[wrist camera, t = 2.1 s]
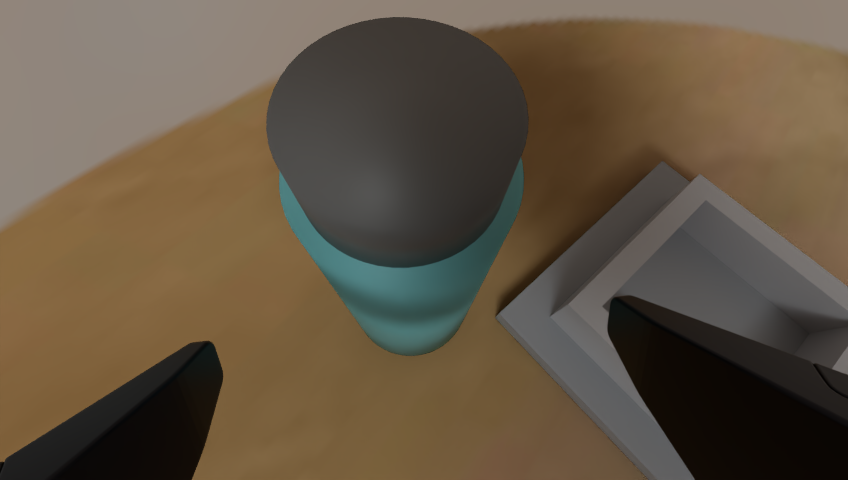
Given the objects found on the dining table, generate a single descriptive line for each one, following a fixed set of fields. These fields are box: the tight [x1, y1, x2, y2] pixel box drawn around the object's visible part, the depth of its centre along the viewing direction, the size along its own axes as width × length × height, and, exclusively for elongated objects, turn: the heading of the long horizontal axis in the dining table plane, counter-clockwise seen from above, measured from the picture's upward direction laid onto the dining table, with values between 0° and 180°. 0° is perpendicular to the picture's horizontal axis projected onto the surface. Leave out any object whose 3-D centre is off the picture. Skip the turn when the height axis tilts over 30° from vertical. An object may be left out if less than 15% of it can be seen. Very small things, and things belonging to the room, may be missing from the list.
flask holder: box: [496, 161, 848, 480], centre depth 18 cm, size 13×13×4 cm
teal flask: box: [266, 17, 528, 356], centre depth 14 cm, size 6×6×14 cm
